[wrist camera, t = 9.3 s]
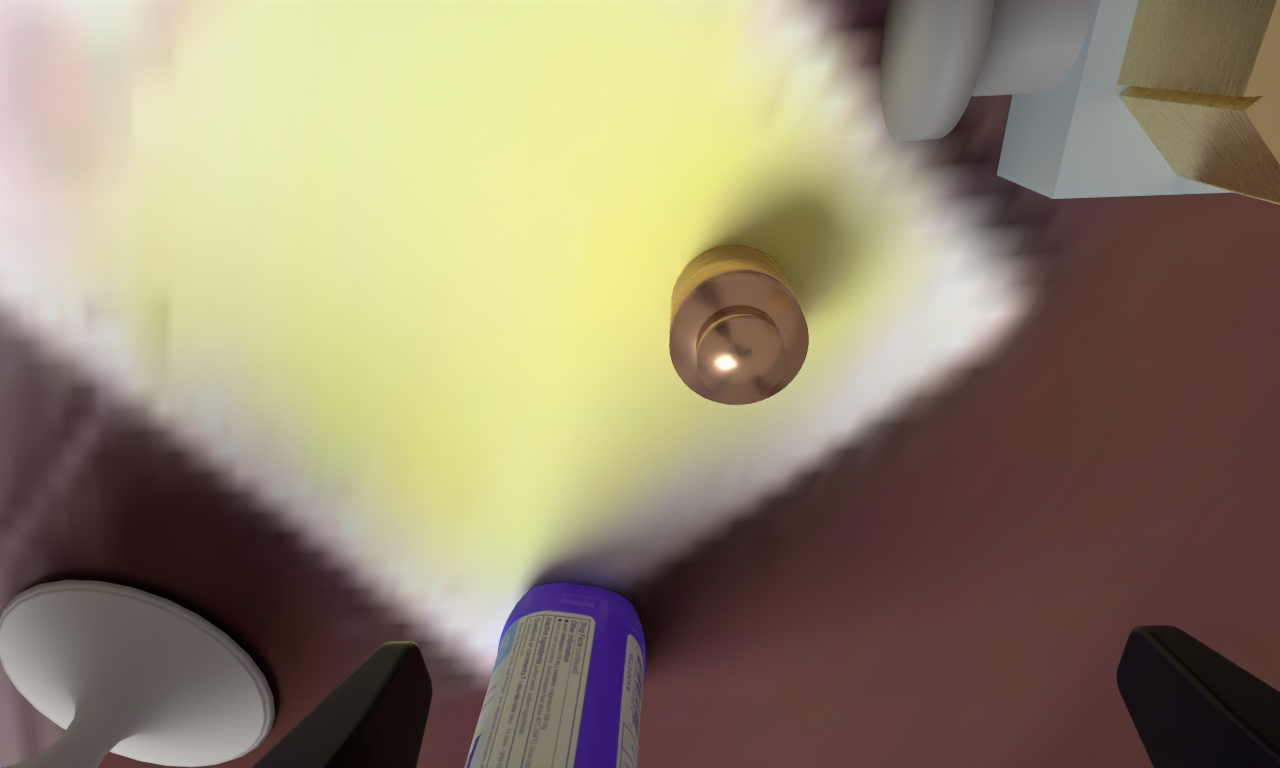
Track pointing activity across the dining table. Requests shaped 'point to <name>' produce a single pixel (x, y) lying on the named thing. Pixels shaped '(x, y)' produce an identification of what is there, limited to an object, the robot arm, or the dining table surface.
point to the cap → (736, 326)
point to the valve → (1027, 90)
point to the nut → (1209, 89)
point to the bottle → (564, 683)
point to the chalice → (131, 677)
